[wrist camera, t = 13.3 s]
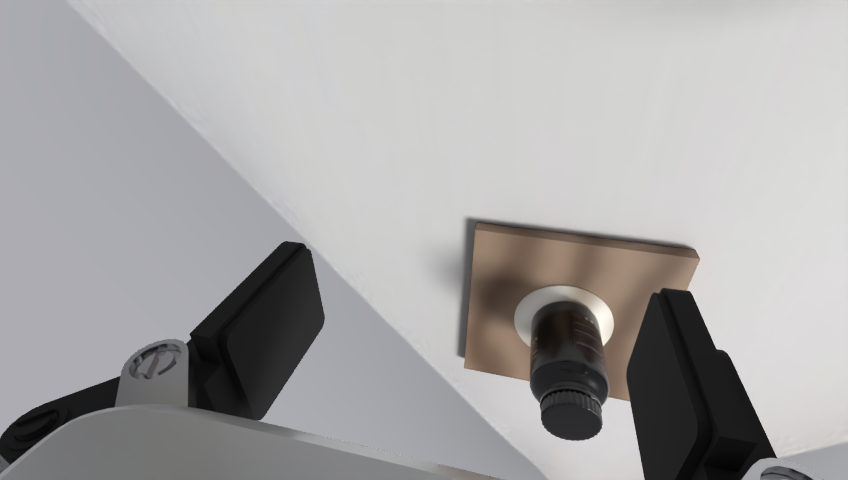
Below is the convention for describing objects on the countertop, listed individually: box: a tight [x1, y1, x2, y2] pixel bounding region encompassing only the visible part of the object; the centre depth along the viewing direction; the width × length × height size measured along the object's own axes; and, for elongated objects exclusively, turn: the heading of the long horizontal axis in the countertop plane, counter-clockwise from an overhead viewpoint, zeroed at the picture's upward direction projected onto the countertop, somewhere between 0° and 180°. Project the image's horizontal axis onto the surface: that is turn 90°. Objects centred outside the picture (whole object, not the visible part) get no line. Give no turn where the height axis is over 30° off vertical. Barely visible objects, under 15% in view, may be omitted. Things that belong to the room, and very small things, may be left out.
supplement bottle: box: [530, 301, 610, 441], centre depth 39 cm, size 7×7×12 cm
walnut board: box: [464, 223, 700, 401], centre depth 45 cm, size 20×20×2 cm
